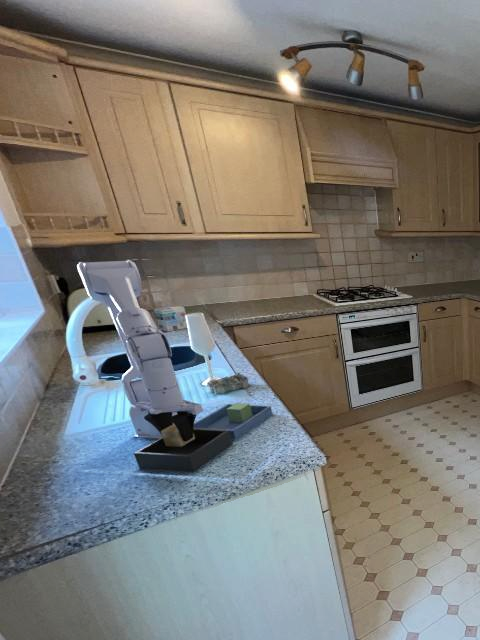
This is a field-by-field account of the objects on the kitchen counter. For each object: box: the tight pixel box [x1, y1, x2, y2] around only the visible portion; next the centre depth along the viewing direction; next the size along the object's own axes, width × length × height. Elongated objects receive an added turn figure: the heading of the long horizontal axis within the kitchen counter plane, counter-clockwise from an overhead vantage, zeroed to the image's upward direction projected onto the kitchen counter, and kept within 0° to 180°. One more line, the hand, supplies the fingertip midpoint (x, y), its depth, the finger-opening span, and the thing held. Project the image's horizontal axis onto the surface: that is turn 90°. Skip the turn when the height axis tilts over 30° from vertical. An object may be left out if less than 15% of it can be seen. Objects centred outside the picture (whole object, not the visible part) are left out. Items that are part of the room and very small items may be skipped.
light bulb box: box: [153, 305, 188, 333], centre depth 205 cm, size 11×7×11 cm, turn 159°
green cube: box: [227, 402, 253, 422], centre depth 114 cm, size 4×4×4 cm
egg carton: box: [207, 372, 250, 395], centre depth 135 cm, size 11×8×4 cm
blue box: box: [194, 403, 273, 441], centre depth 111 cm, size 13×15×3 cm
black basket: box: [133, 428, 234, 473], centre depth 96 cm, size 13×12×4 cm
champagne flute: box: [186, 312, 222, 387], centre depth 137 cm, size 7×7×24 cm
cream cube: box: [161, 424, 195, 447], centre depth 96 cm, size 4×4×4 cm
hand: (179, 438), depth 96 cm, fingers closed on cream cube, 4 cm apart
